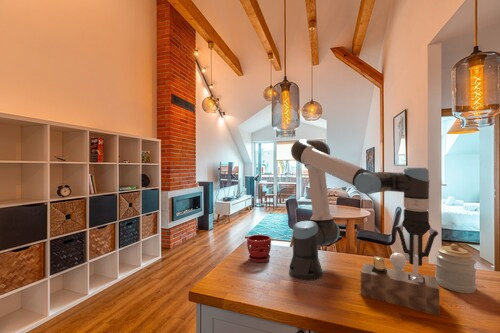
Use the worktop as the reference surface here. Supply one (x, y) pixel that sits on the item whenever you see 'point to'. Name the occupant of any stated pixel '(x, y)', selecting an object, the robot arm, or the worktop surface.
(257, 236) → the plant pot
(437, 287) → the socket block
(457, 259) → the jar
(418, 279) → the steel peg
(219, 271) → the worktop surface
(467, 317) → the worktop surface
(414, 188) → the robot arm
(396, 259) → the lightbulb
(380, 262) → the brass peg
